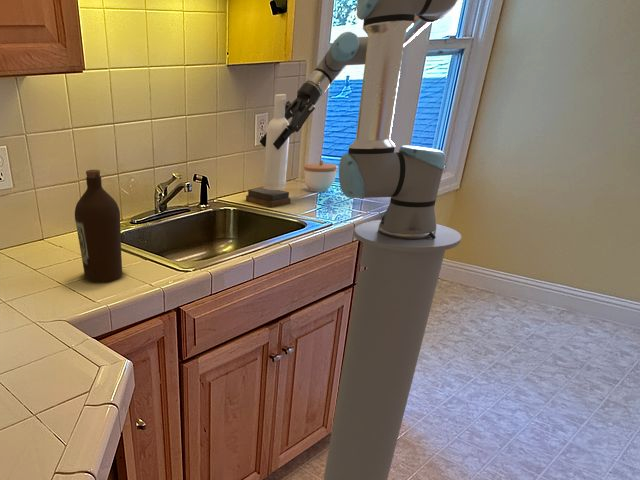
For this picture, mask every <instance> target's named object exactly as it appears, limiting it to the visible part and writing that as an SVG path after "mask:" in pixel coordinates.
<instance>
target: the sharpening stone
mask: <svg viewBox="0 0 640 480" xmlns="http://www.w3.org/2000/svg"><path fill="white" fill-rule="evenodd" d="M247 191H248V192H247V194H246V195H245V201H246V202H249V203H253V204H257V205H261V206H265V207H269V208H275V207H280V206H284V205H290V204H291V198H292V197H290V192H289V191H285V190H267V189H264V188H263V186H261V187H256V188H251V189H248V190H247Z"/></svg>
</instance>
